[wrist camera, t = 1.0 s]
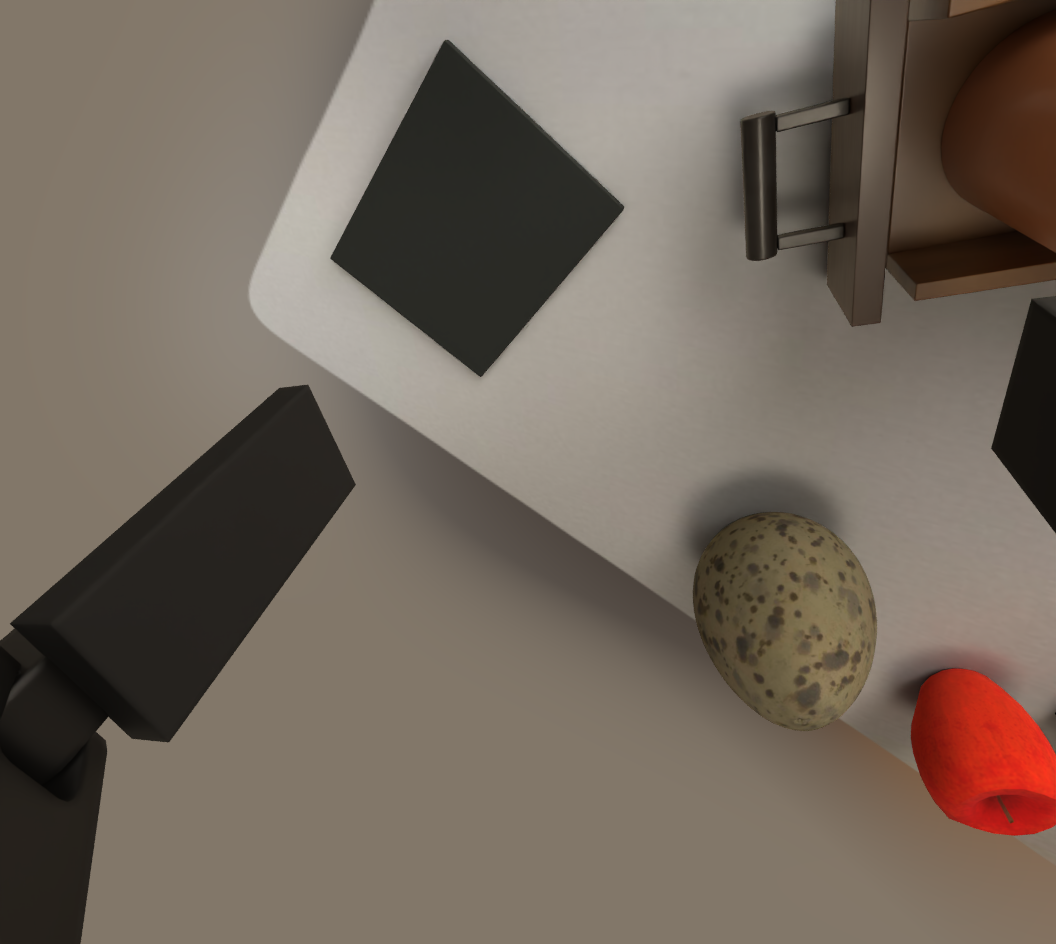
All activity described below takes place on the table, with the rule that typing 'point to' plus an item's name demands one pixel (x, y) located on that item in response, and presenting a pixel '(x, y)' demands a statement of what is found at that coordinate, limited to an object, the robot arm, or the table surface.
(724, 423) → the table surface
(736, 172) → the table surface
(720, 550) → the decorative egg
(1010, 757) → the apple
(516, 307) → the mat
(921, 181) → the drawer
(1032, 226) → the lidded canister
